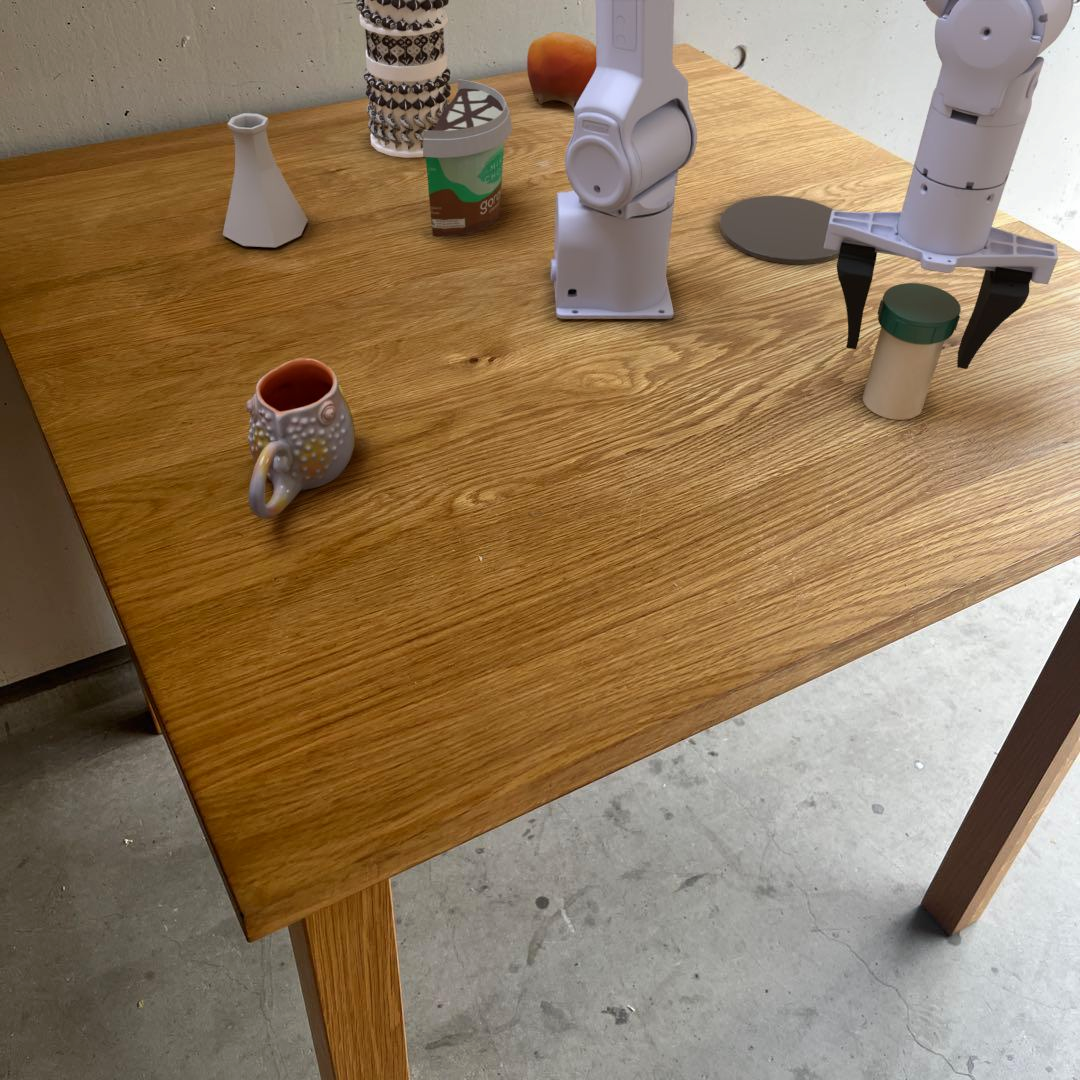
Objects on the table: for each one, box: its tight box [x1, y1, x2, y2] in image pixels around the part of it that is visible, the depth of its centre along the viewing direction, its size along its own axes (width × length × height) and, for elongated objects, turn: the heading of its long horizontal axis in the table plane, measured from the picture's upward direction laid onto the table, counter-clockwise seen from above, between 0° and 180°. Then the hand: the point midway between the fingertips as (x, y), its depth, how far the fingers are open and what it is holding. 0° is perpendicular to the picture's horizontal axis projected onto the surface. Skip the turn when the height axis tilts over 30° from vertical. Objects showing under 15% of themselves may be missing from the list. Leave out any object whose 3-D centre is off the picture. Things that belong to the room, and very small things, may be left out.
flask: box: [222, 112, 309, 248], centre depth 95 cm, size 7×7×10 cm
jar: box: [862, 326, 945, 421], centre depth 79 cm, size 4×4×8 cm
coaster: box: [718, 195, 840, 265], centre depth 100 cm, size 12×12×1 cm
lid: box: [877, 282, 962, 344], centre depth 76 cm, size 5×5×2 cm
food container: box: [422, 78, 513, 237], centre depth 98 cm, size 12×6×10 cm, turn 168°
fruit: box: [526, 31, 597, 112], centre depth 119 cm, size 8×8×8 cm
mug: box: [245, 357, 356, 520], centre depth 71 cm, size 12×7×7 cm, turn 167°
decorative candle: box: [356, 0, 452, 159], centre depth 104 cm, size 9×9×25 cm
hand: (906, 351), depth 79 cm, fingers open, 7 cm apart
